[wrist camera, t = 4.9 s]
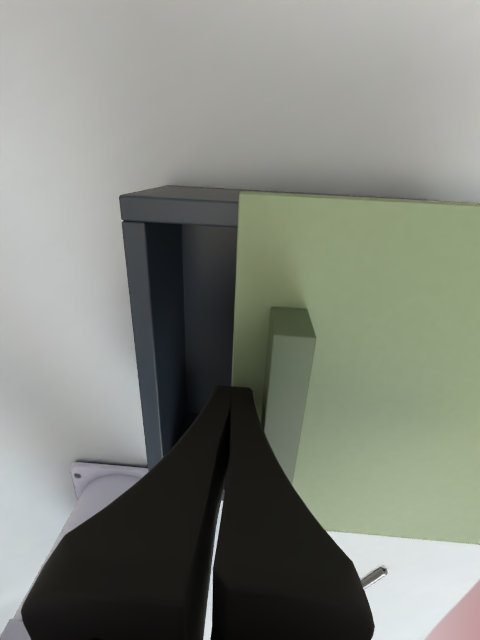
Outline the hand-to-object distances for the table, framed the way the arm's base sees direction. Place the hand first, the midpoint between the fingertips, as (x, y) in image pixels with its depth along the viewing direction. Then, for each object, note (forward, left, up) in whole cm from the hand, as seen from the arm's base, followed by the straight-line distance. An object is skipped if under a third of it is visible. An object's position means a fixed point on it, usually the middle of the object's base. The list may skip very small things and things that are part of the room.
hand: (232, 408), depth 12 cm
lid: (0, -6, -1) cm, 6 cm away
